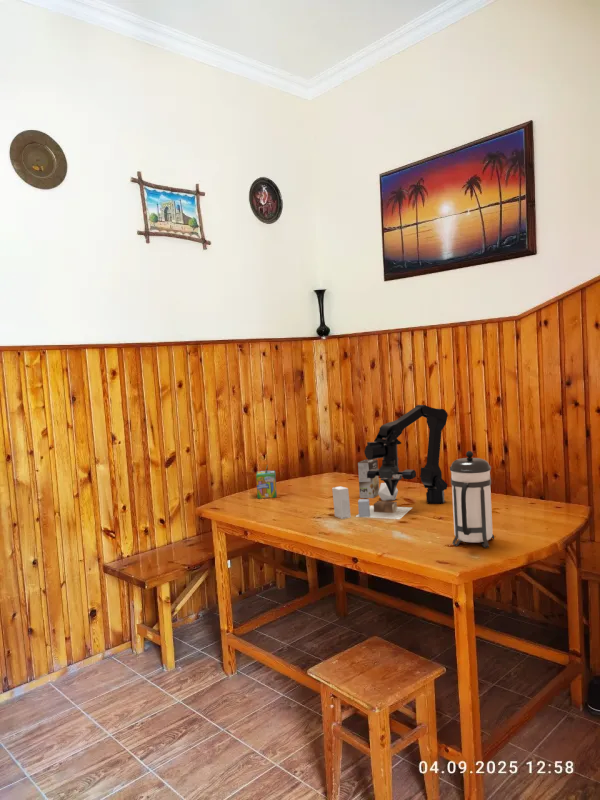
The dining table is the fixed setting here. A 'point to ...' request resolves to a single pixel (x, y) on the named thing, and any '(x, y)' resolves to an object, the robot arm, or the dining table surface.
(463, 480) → the coffee press
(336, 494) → the skincare box
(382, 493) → the die
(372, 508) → the mat
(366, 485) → the coffee box
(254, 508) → the dining table surface
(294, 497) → the dining table surface
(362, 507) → the blue-grey block
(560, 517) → the dining table surface
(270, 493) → the chalk box
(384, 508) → the walnut block
